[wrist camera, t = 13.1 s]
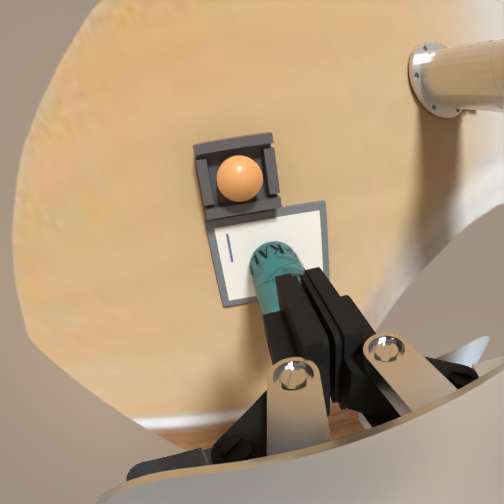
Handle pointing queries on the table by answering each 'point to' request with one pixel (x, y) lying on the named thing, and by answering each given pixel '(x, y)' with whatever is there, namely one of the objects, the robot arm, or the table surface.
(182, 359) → the table surface
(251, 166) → the button
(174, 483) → the robot arm
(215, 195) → the button housing
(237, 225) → the drawing board
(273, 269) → the beverage bottle
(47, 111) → the table surface
